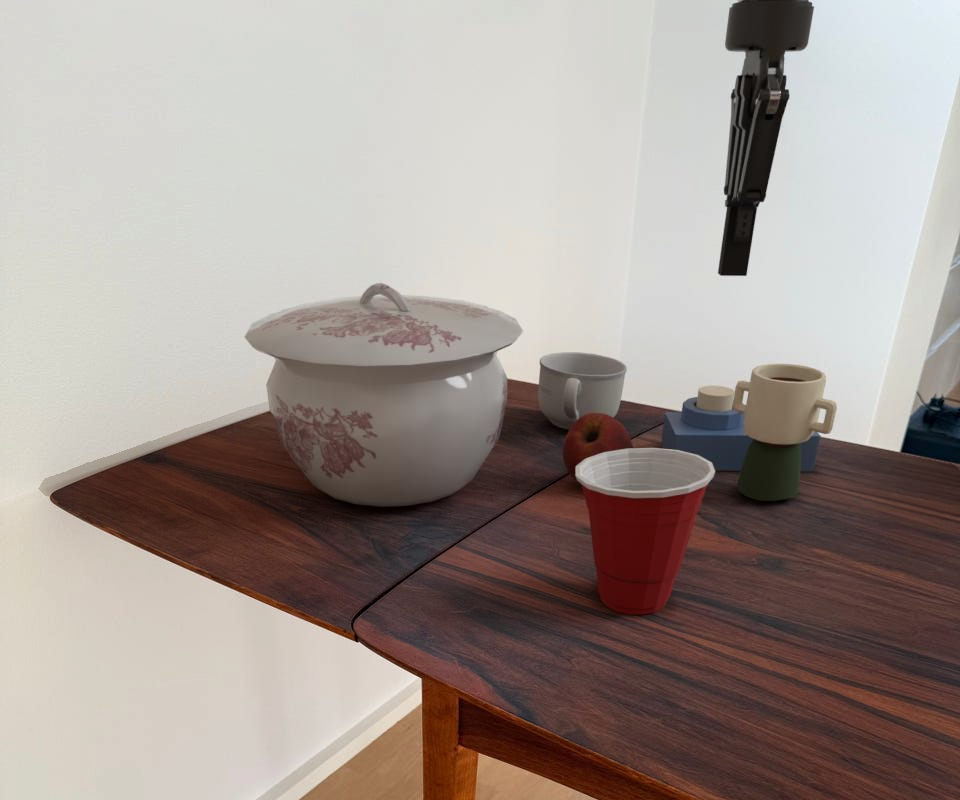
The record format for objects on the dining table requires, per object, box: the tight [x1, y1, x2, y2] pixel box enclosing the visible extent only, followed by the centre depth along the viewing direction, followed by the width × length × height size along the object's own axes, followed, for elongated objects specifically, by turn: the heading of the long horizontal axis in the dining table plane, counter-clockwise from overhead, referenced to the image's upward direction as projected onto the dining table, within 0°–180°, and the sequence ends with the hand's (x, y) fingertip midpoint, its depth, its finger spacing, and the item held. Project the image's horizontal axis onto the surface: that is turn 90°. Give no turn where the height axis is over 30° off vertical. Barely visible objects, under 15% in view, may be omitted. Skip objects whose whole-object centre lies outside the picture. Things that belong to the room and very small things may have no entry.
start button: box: [696, 385, 735, 411], centre depth 100 cm, size 4×4×2 cm
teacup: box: [537, 351, 628, 431], centre depth 110 cm, size 14×11×8 cm
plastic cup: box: [576, 447, 716, 616], centre depth 72 cm, size 11×11×12 cm
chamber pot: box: [244, 282, 524, 508], centre depth 91 cm, size 28×28×21 cm
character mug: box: [733, 363, 838, 502], centre depth 90 cm, size 11×7×13 cm, turn 46°
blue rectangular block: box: [660, 396, 821, 473], centre depth 101 cm, size 16×8×6 cm, turn 88°
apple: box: [562, 413, 634, 485], centre depth 94 cm, size 7×8×8 cm
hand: (732, 274), depth 93 cm, fingers closed
